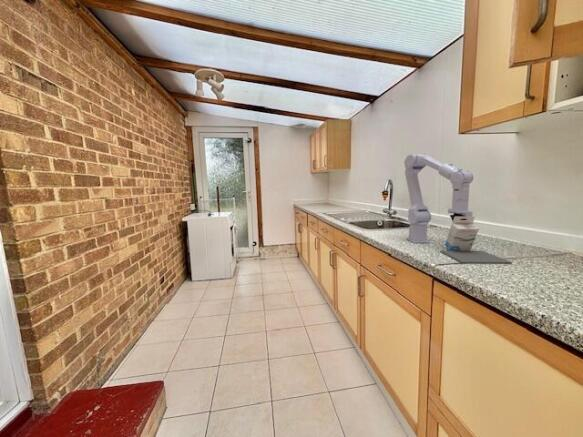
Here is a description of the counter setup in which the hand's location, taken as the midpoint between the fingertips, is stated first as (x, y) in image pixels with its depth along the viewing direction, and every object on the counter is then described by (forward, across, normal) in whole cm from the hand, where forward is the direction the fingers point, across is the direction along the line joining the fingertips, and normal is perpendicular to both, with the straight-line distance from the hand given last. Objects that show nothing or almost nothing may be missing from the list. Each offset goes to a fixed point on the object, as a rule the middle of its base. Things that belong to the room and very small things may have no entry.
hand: (458, 231), depth 109 cm
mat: (+8, +11, 0) cm, 14 cm away
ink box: (+8, 0, 0) cm, 8 cm away
